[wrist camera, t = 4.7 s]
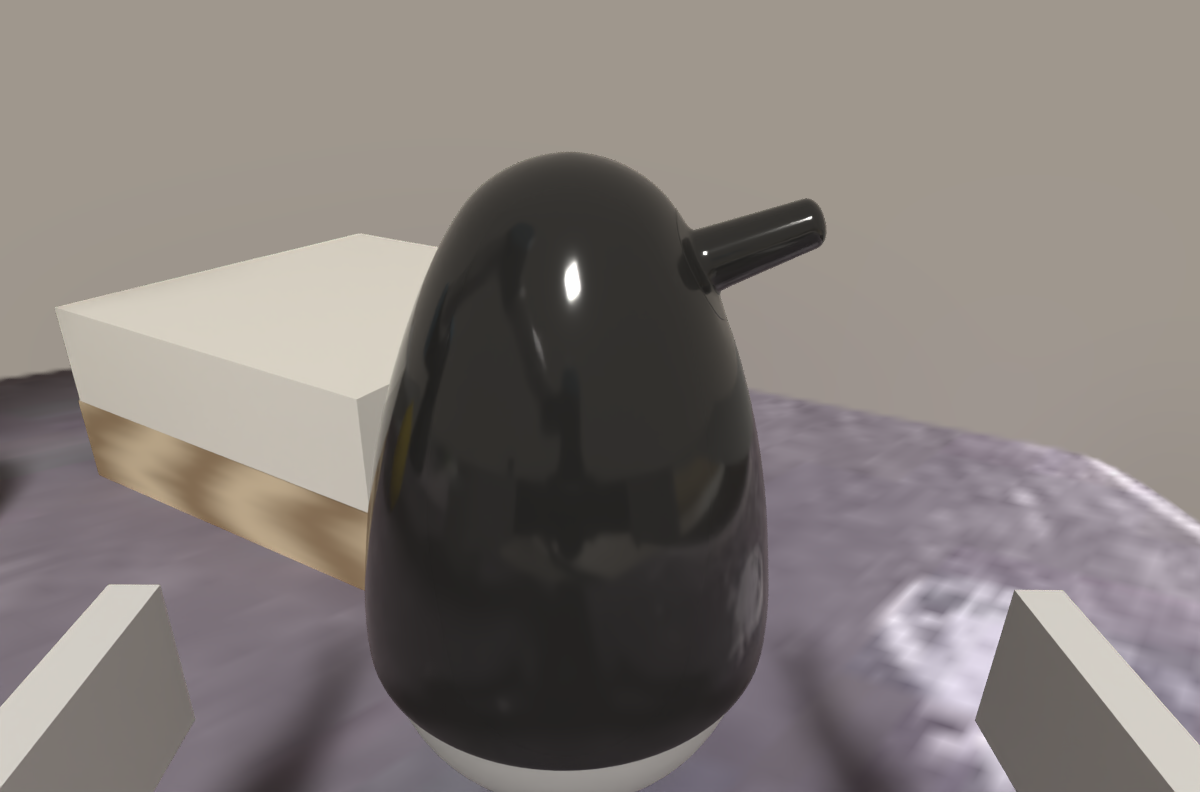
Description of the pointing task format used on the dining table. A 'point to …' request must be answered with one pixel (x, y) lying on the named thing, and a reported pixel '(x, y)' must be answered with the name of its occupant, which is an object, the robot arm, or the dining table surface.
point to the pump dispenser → (573, 482)
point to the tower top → (260, 357)
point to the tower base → (231, 495)
